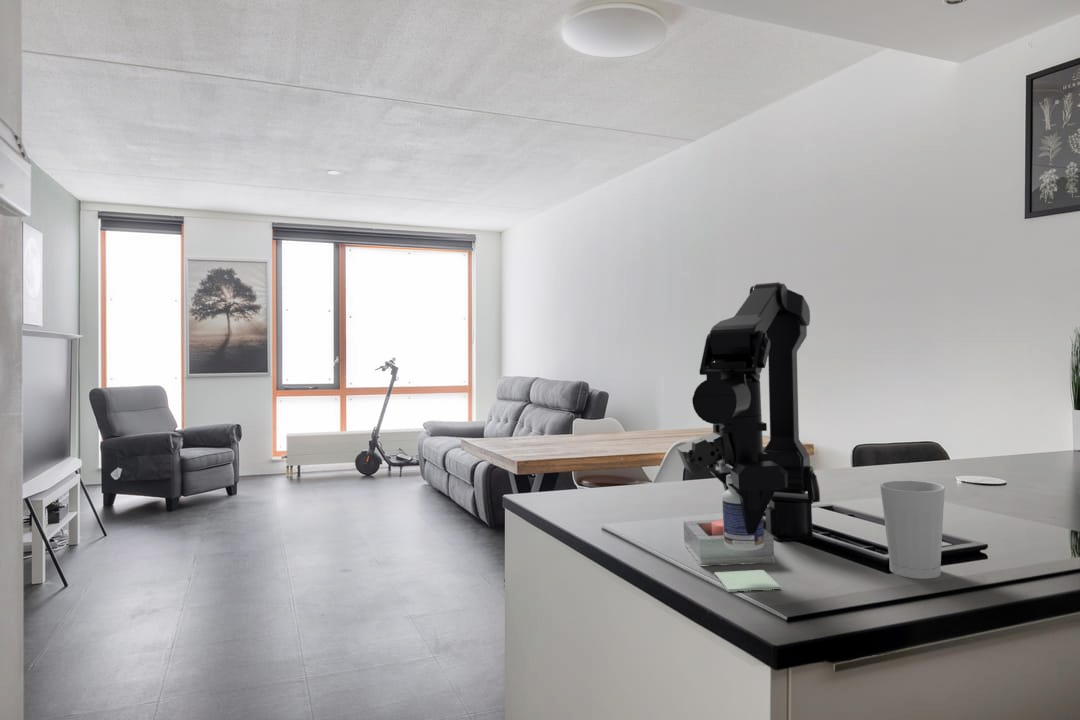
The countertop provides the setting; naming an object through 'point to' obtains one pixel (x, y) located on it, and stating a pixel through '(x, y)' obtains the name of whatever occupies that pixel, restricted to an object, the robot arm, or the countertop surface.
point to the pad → (746, 580)
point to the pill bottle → (738, 523)
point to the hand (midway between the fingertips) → (744, 527)
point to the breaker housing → (722, 546)
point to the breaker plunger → (717, 528)
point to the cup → (913, 527)
